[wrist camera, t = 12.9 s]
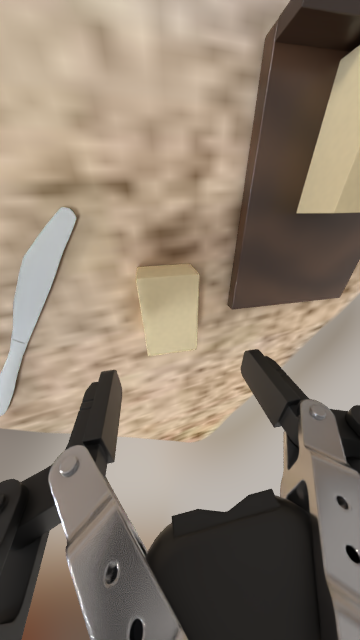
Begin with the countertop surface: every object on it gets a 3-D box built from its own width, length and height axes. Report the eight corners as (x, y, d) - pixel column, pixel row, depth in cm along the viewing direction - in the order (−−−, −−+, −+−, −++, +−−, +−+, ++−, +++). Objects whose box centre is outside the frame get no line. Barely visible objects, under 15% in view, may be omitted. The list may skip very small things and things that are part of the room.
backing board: (265, 36, 10) (308, -27, 8) (443, 60, 12) (528, 17, 10) (227, 304, 20) (240, 319, 17) (331, 293, 22) (357, 305, 19)
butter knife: (-28, 414, 21) (1, 420, 22) (43, 190, 12) (86, 220, 13) (-24, 409, 21) (5, 415, 22) (47, 192, 12) (89, 220, 13)
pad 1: (137, 266, 16) (135, 278, 13) (189, 263, 16) (199, 273, 14) (147, 335, 20) (148, 356, 17) (189, 330, 21) (196, 349, 18)
